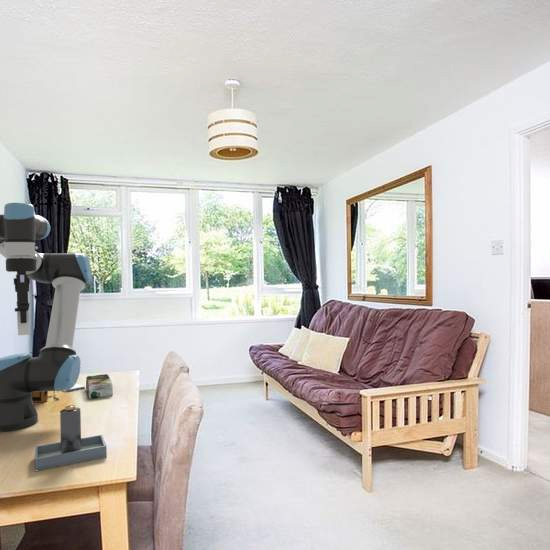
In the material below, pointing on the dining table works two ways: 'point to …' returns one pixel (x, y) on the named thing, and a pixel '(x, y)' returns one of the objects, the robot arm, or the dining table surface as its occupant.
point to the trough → (69, 453)
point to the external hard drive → (75, 388)
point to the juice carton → (99, 386)
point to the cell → (70, 429)
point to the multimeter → (40, 395)
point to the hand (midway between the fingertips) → (23, 331)
